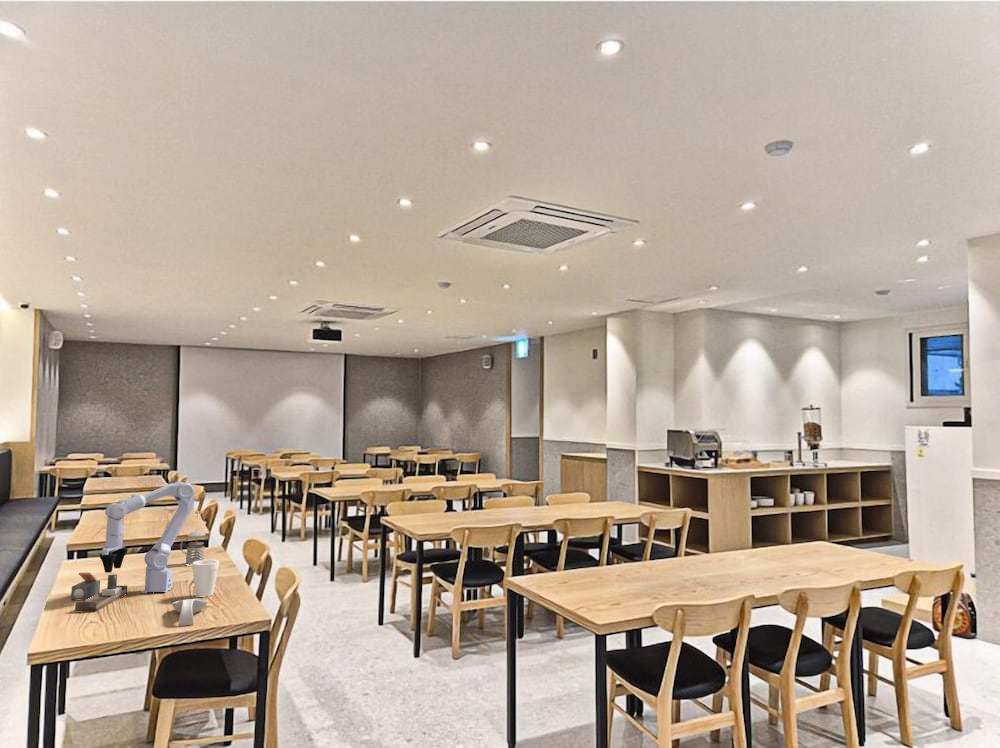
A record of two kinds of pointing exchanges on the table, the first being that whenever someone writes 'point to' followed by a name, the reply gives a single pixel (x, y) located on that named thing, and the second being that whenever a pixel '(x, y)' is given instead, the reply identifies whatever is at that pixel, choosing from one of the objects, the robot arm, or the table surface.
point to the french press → (192, 546)
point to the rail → (99, 601)
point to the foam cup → (205, 576)
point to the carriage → (111, 586)
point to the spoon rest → (188, 609)
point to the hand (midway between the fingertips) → (112, 570)
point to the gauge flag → (87, 576)
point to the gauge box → (85, 589)
